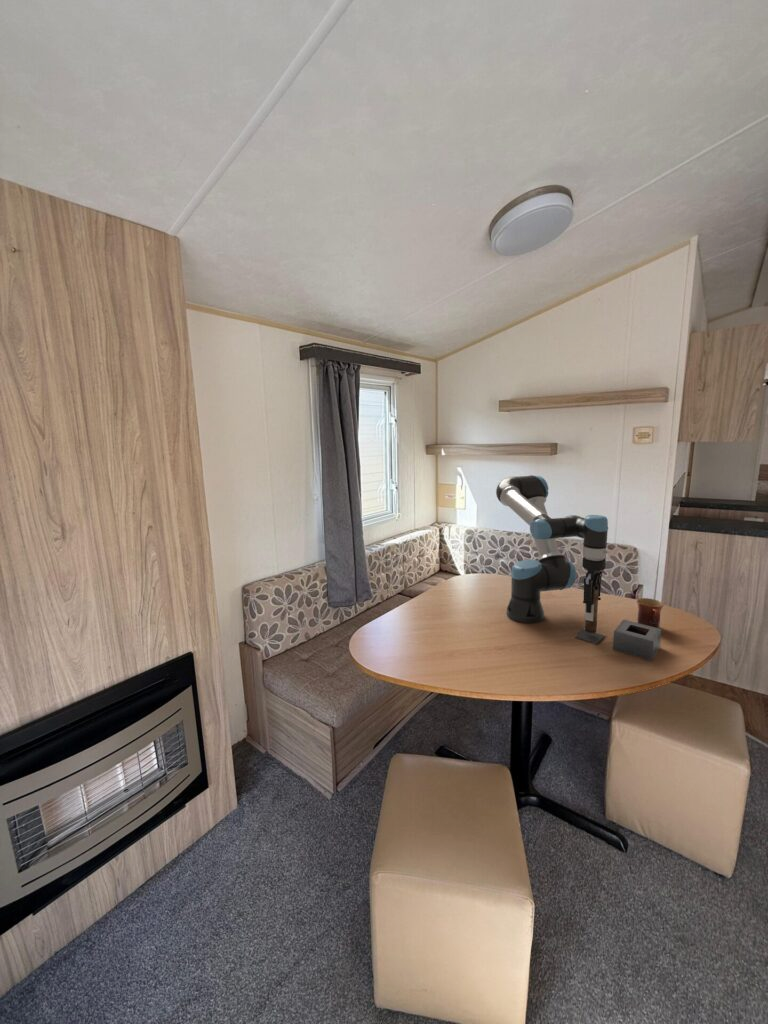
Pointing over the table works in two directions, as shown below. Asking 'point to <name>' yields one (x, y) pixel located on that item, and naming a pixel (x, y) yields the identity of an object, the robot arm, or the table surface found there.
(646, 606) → the mug
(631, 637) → the grey hollow block
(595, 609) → the brown cylinder
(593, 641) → the coaster
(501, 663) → the table surface
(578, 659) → the table surface
